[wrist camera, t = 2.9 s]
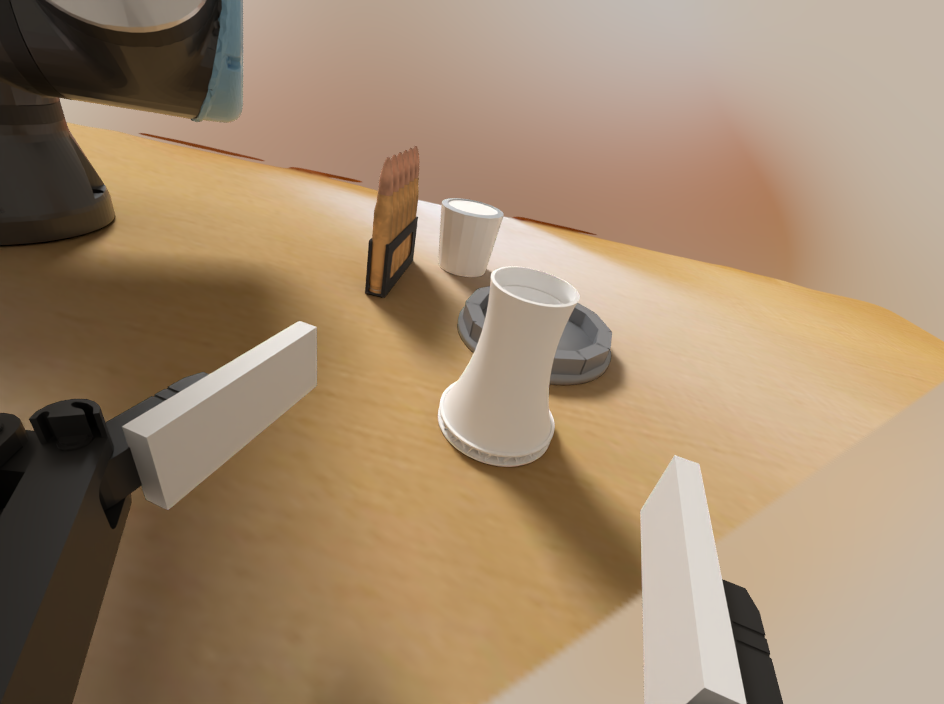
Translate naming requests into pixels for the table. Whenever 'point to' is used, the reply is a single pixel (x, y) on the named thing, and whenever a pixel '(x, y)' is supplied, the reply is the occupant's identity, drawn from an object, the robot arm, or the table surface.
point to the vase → (510, 371)
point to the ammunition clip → (393, 223)
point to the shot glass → (467, 236)
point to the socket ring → (577, 350)
